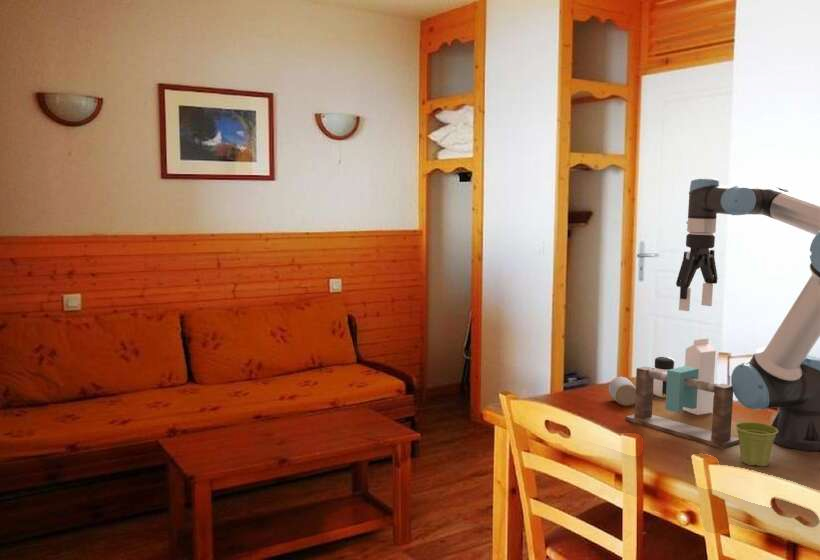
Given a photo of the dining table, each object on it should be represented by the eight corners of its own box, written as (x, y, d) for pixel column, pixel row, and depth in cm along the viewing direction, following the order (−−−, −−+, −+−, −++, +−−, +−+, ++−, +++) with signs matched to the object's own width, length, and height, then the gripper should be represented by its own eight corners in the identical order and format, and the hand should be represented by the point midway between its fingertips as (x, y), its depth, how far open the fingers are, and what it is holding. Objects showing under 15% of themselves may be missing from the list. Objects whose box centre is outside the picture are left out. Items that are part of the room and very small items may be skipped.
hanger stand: (739, 442, 197) (743, 386, 195) (722, 448, 192) (726, 390, 190) (642, 415, 221) (645, 364, 219) (625, 419, 216) (627, 368, 214)
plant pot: (757, 471, 176) (759, 435, 175) (724, 458, 184) (726, 424, 184) (784, 466, 180) (787, 431, 179) (752, 453, 188) (754, 420, 187)
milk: (682, 410, 226) (685, 338, 224) (696, 407, 229) (700, 336, 227) (698, 415, 221) (701, 341, 219) (712, 412, 224) (716, 340, 221)
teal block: (683, 404, 210) (685, 365, 208) (696, 407, 207) (698, 368, 205) (665, 409, 205) (667, 369, 203) (678, 413, 201) (680, 372, 200)
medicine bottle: (662, 397, 240) (664, 360, 239) (646, 392, 247) (648, 356, 245) (679, 395, 243) (681, 359, 242) (663, 390, 249) (665, 354, 248)
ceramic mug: (615, 407, 229) (616, 382, 228) (607, 399, 237) (609, 376, 236) (649, 408, 229) (651, 383, 228) (640, 400, 237) (642, 376, 236)
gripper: (708, 231, 223) (703, 301, 225) (666, 234, 206) (661, 310, 209) (733, 232, 217) (727, 305, 220) (692, 236, 200) (687, 314, 203)
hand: (695, 308), depth 214 cm, fingers open, 13 cm apart
